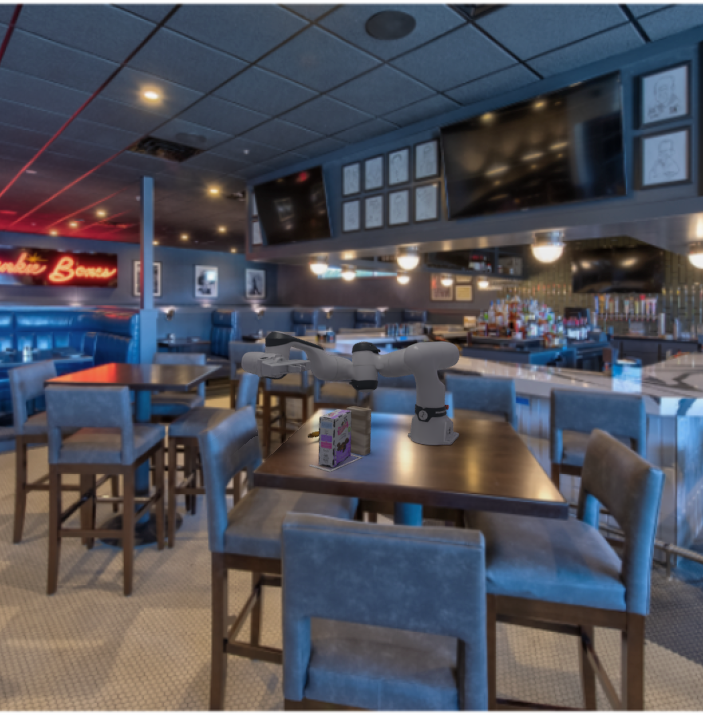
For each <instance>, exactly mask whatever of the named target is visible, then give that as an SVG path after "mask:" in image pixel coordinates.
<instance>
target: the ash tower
mask: <svg viewBox="0 0 703 715" xmlns="http://www.w3.org/2000/svg"><path fill="white" fill-rule="evenodd" d="M346 410H349V411H351V454H354V455H358V456H359V455H360V456H362V457H363V456H364V457H365V456H367V455H369V454H371V442H372V441H371V439H372V427H371V426H372V409H371V408H366V407H361V406H360V407H359V406H356V405H353V406H349V407H346Z"/></svg>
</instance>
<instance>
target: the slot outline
mask: <svg viewBox="0 0 703 715" xmlns="http://www.w3.org/2000/svg"><path fill="white" fill-rule="evenodd" d="M350 457H355V458H356V459H354V460H351V461H348V462H345V463H344V464H341V465H340V466H337V467H333V469H329V468H325V467H321V466H317V465H313V464H308V466H309V467H312V468H315V469H318V470H322V471H325V472H329V473H331V472H333V471H335V470H338V469H340V468H342V467H345V466H347V465H349V464H352V463H354V462H356V461H359V460H361V459H363V458H364V457H363V456H361V455H360V456H359V455H357V454H353V453H351V456H350Z"/></svg>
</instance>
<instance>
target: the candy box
mask: <svg viewBox="0 0 703 715" xmlns="http://www.w3.org/2000/svg"><path fill="white" fill-rule="evenodd" d="M318 420H319V422H318V425H319V426H318V431H319V436H318V465H319V466H323V467H328V468H329V467H330V468H336V466H338V465H339V464H341V463H343V461H345V460H347V459H348V458H350V457H352V456H351V454H352V453H351V411H349V410H347V409H338V408H336V409H335V410H333V411H330V412H329V413H326V414H324V415H321V416H319V418H318Z"/></svg>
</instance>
